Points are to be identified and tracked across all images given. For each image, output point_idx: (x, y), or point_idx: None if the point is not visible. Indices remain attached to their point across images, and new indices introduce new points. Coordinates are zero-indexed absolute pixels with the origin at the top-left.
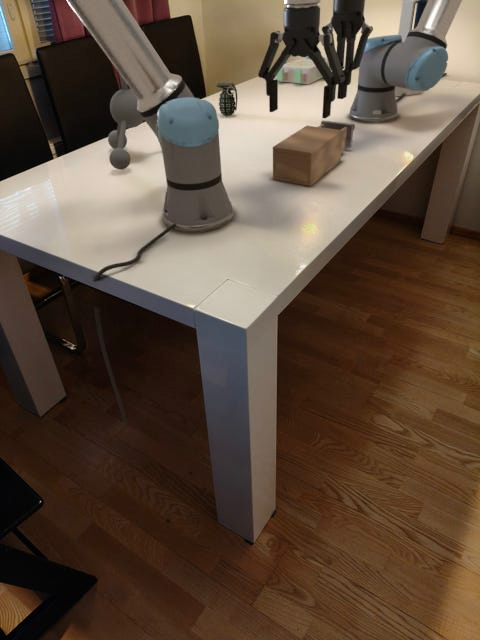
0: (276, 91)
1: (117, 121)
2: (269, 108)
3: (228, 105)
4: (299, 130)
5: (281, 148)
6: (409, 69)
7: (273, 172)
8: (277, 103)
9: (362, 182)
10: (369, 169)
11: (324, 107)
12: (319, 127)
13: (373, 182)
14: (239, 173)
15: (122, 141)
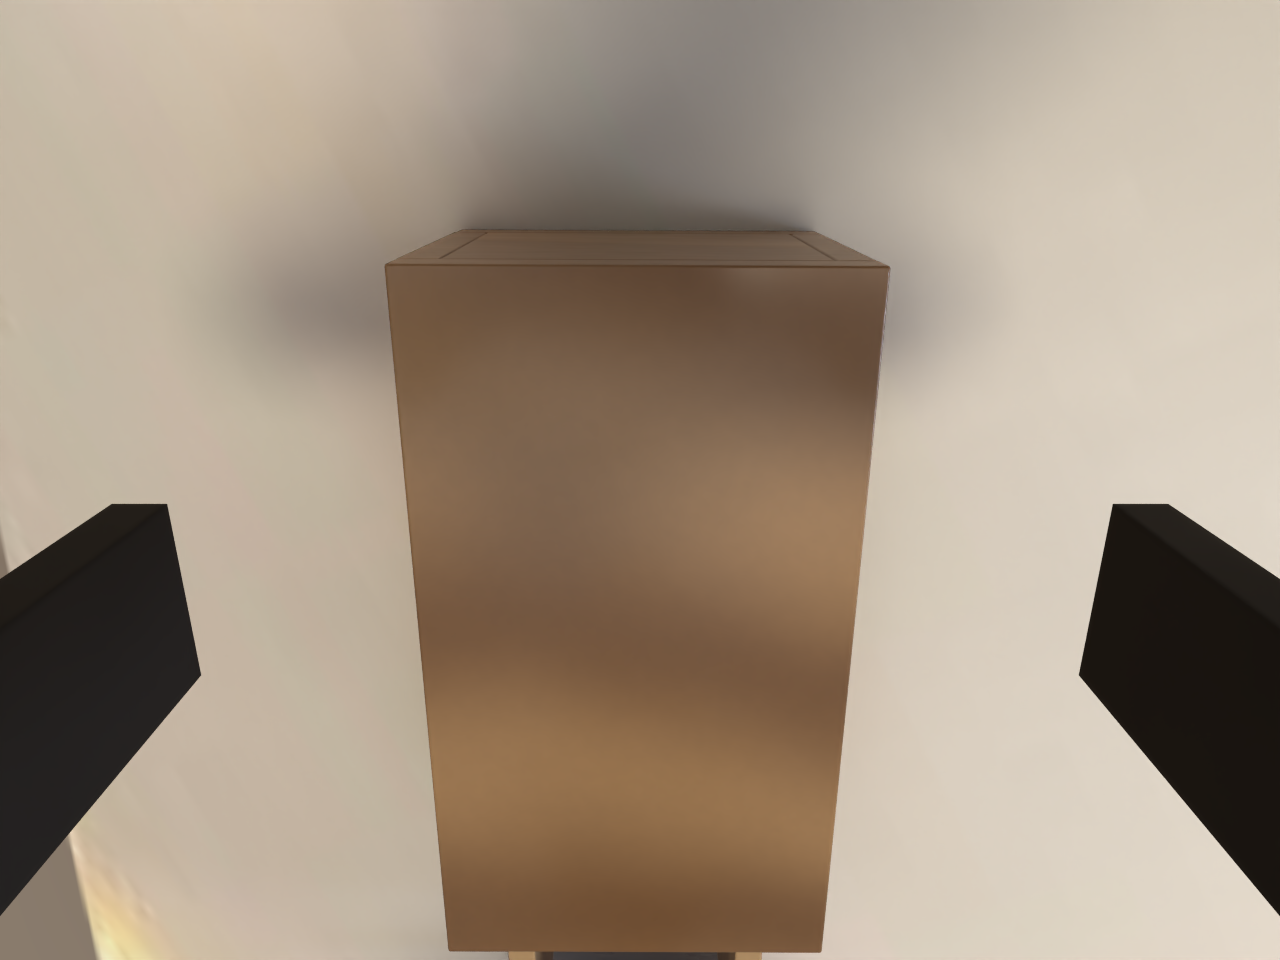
0: (1276, 851)
1: None
2: (1201, 528)
3: None
4: (828, 820)
5: (773, 267)
6: None
7: (822, 237)
8: (1126, 725)
9: (155, 480)
10: (241, 710)
11: (27, 577)
12: (683, 945)
13: (88, 512)
14: (1158, 230)
15: None
